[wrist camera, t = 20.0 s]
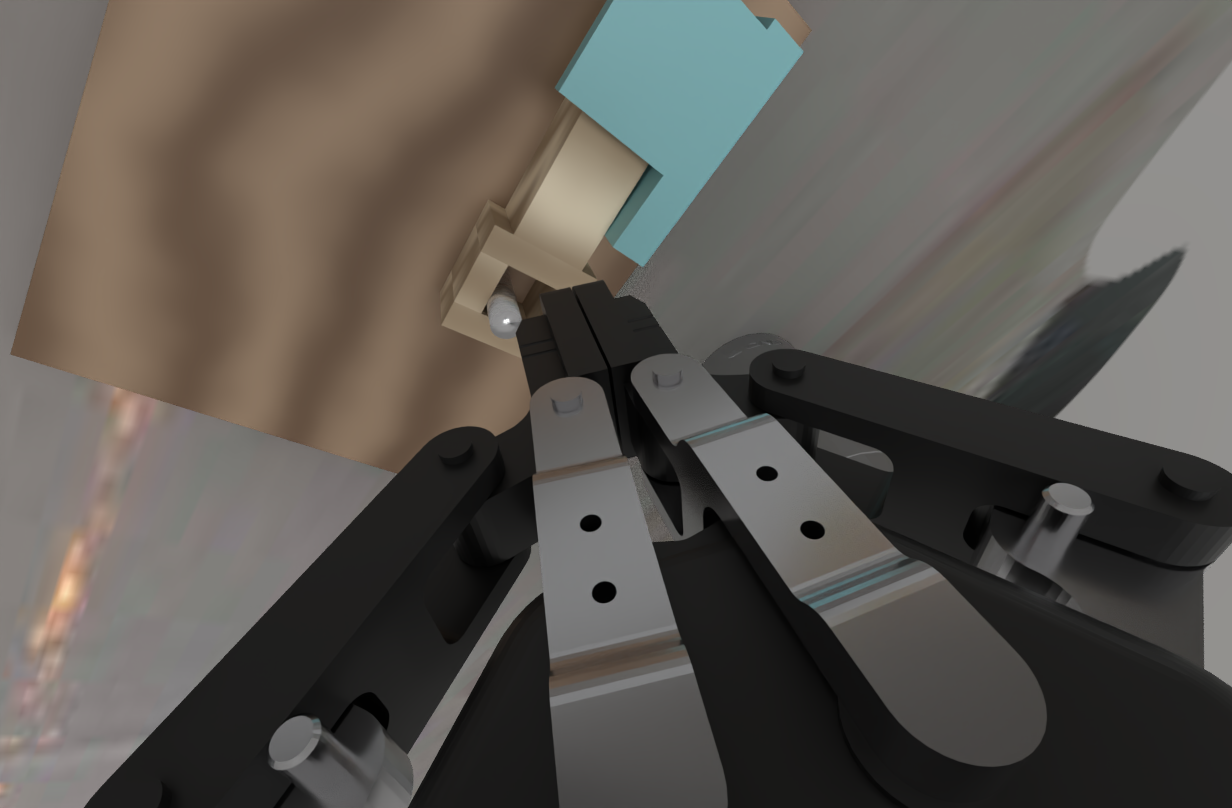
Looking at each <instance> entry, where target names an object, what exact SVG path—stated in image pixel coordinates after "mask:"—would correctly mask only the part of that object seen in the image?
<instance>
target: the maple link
mask: <svg viewBox="0 0 1232 808" xmlns="http://www.w3.org/2000/svg"><path fill="white" fill-rule="evenodd" d="M647 166H648V163H647V162H646V161H645V160H643V159H642V158H641V157H640V156H638V155H637V154H636V153H635V152H633V151H632V150H631V149H630V148H628V147H627V146H626V145H625V144H623V143H622V142H621V141H620V140H618V139H617V138H616V137H615V136H614V135H612V134H611V133H610V132H609V131H607V130H606V129H605V128H604V127H602V126H601V125H600V124H599V123H597V122H596V121H595V120H594V119H592V118H591V117H590V116H589V115H587V114H586V113H585V112H584V111H582V110H581V109H580V108H579V107H577V106H576V105H575V104H574V103H572V102H571V101H570V100H569V99H567V98H566V97H565V98H564V100H563V102H562V104H561V106H560V108H559V109H558V111H557V113H556V115H555V117H554V119H553V121H552V122H551V124H550V126H549V128H548V130H547V132H546V134H545V136H544V137H543V139H542V141H541V143H540V145H539V147H538V149H537V150H536V152H535V154H534V156H533V158H532V160H531V162H530V163H529V165H528V167H527V169H526V171H525V173H524V175H523V176H522V178H521V180H520V182H519V184H518V186H517V188H516V190H515V191H514V193H513V195H512V197H511V199H510V201H509V203H508V204H507V206H506V208H505V209H504V208H502V207H501V206H499V205H497V204H495V203H493V202H492V201H490V200H488V201H487V203H486V205H485V207H484V209H483V211H482V213H481V214H480V216H479V218H478V220H477V222H476V224H475V226H474V228H473V230H472V232H471V234H470V236H469V237H468V239H467V241H466V243H465V245H464V247H463V249H462V251H461V253H460V255H459V257H458V259H457V261H456V262H455V264H454V266H453V268H452V270H451V272H450V274H449V276H448V278H447V280H446V282H445V284H444V286H443V287H442V289H441V291H440V303H441V325H442V326H445V327H447V328H449V329H452V330H454V331H457V332H459V333H461V334H464V335H466V336H469V337H471V338H474V339H476V340H478V341H481V342H483V343H486V344H488V345H491V346H493V347H495V348H498V349H500V350H503V351H505V352H507V353H510V354H512V355H515V356H517V357H520V358H521V353H520V349H519V345H518V341H517V337H516V336H515V337H513V338H511V339H501V338H499V337H497V336H495V335H494V334H493V333H492V331H491V328H490V323H489V317H488V312H487V306H486V304H487V302H488V300H489V299H490V297H491V295H492V293H493V292H494V290H495V288H496V286H497V284H498V283H499V281H500V279H501V277H502V276H503V274H504V272H505V270H506V268H507V267H508V265H509V266H511V267H513V268H515V269H517V270H519V271H521V272H523V273H525V274H527V275H529V276H531V277H533V278H535V279H536V281H535V282H534V284H533V286H532V287H531V289H530V291H529V292H528V294H527V296H526V297H525V299H524V301H523V302H522V303H520V302H518V301H517V304H518V307H519V311H520V315H521V318H522V320H523V319H528V318H532V317H536V316H541V315H543V312H542V308H541V303H540V298H539V294H541V293H545V292H550V291H554V290H559V289H563V288H568V287H570V288H571V290H572V286H576V285H581V284H585V283H590V282H595V281H597V278H596V276H595V275H594V273H593V271H592V269H591V267H590V266H589V264H588V260H589V259H590V257H591V256H592V254H593V252H594V251H595V249H596V248H597V246H598V244H599V243H600V241H601V240H602V238H603V236H604V235H605V233H606V232H607V230H608V228H609V227H610V225H611V224H612V222H613V220H614V219H615V217H616V216H617V214H618V212H619V211H620V209H621V208H622V206H623V204H624V203H625V201H626V200H627V198H628V196H629V195H630V193H631V192H632V190H633V188H634V187H635V185H636V184H637V182H638V180H639V179H640V177H641V176H642V174H643V172H644V171H645V169H646V168H647Z"/></svg>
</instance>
